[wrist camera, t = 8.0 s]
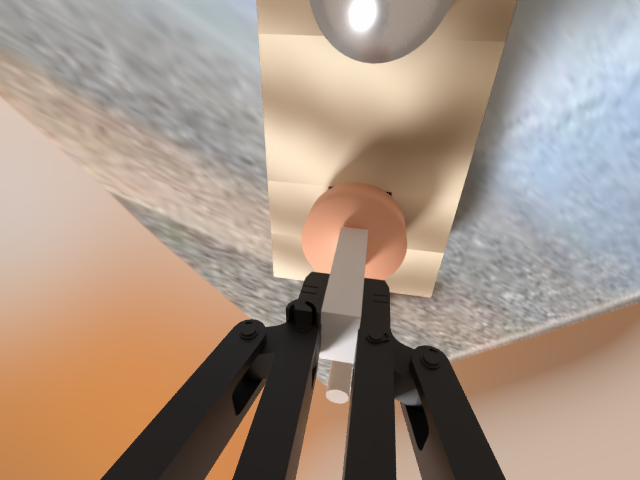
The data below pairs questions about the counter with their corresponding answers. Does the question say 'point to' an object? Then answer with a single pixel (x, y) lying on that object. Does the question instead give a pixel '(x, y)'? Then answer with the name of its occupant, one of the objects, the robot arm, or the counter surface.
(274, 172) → the panel housing
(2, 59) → the counter surface
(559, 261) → the counter surface
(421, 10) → the grey shiny disc
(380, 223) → the terracotta plunger
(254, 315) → the counter surface
